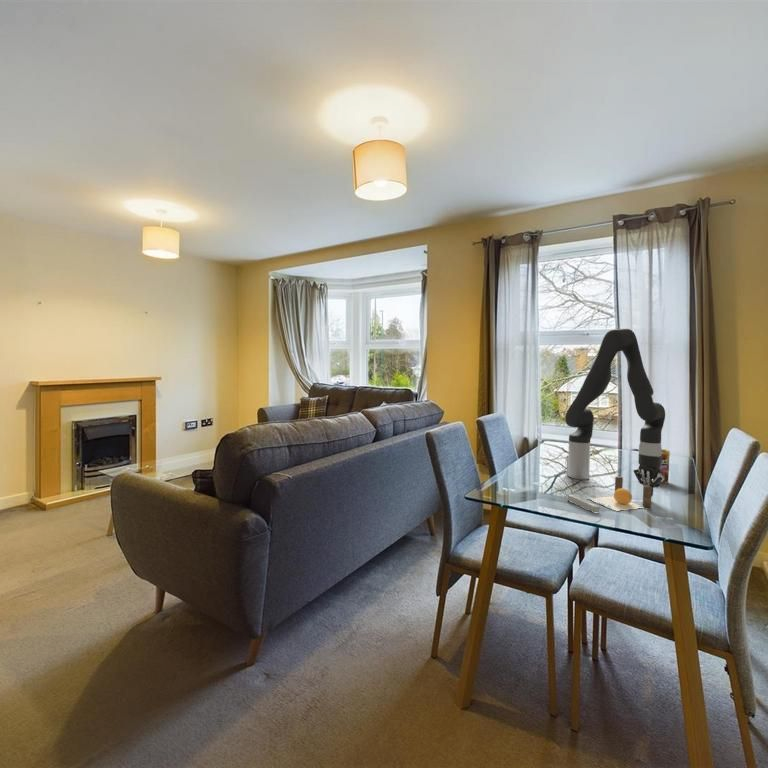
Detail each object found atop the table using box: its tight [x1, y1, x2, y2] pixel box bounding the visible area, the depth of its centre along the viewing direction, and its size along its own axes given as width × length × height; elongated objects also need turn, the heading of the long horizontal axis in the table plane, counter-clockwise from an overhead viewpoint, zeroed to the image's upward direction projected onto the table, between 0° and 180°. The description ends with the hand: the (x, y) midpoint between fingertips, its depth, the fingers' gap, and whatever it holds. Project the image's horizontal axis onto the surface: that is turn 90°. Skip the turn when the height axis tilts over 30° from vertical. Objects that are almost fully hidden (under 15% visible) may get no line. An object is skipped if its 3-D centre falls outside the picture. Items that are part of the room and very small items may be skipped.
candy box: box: [659, 448, 671, 484], centre depth 189 cm, size 9×4×15 cm, turn 60°
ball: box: [613, 487, 633, 504], centre depth 158 cm, size 6×6×6 cm
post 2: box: [642, 485, 652, 509], centre depth 154 cm, size 3×3×8 cm
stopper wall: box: [567, 494, 600, 513], centre depth 155 cm, size 14×2×2 cm, turn 15°
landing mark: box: [589, 495, 645, 512], centre depth 159 cm, size 14×14×1 cm
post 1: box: [614, 475, 624, 492], centre depth 167 cm, size 3×3×8 cm
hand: (648, 496), depth 163 cm, fingers closed
